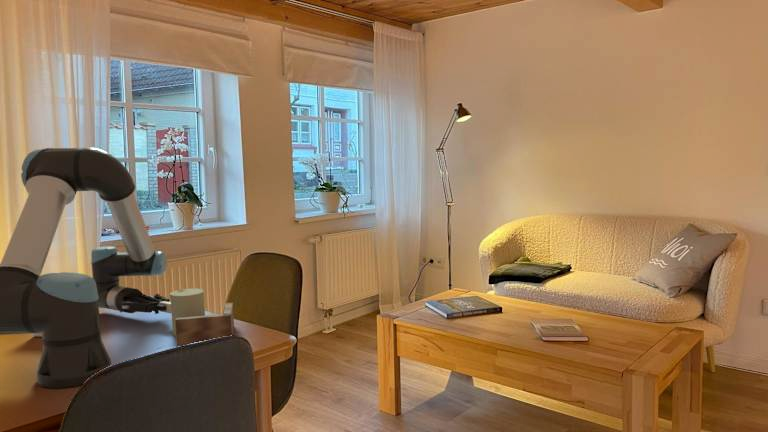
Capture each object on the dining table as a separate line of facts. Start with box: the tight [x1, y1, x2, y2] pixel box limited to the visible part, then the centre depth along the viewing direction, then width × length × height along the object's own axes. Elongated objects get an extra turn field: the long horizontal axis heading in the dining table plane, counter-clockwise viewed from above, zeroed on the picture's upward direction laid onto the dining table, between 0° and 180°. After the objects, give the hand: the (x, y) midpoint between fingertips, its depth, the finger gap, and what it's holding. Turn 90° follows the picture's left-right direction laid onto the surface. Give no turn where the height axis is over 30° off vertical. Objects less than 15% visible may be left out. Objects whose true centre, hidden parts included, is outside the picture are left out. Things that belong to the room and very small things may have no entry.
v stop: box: [175, 302, 235, 347], centre depth 161 cm, size 11×20×7 cm, turn 147°
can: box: [169, 287, 206, 337], centre depth 167 cm, size 9×9×12 cm
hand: (176, 308), depth 170 cm, fingers closed
